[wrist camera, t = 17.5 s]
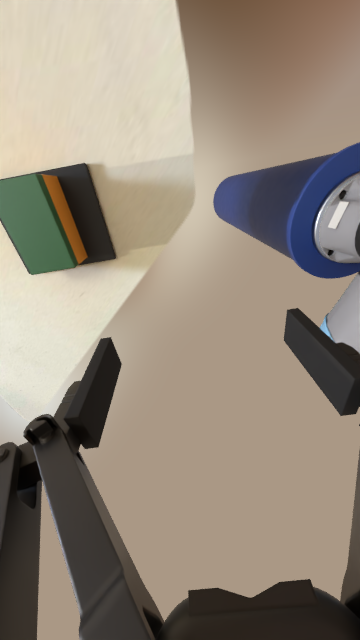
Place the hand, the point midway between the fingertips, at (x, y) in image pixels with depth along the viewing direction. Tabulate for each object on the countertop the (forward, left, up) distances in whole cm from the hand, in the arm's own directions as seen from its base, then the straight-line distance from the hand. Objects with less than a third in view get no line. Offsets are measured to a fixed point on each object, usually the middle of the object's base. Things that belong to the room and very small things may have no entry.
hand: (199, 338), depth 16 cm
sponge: (+20, -8, -26) cm, 34 cm away
